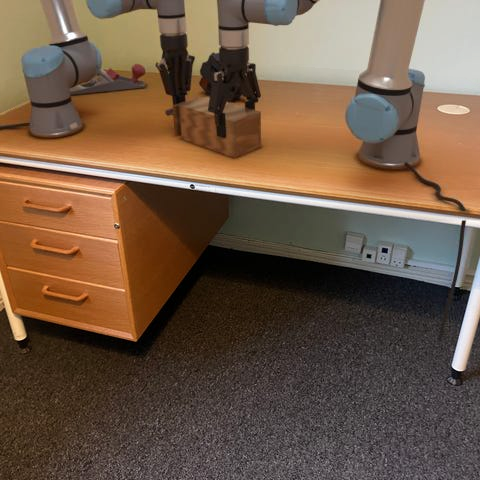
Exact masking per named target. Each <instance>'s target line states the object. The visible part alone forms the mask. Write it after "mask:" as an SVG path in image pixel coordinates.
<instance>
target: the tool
mask: <svg viewBox="0 0 480 480" xmlns="http://www.w3.org/2000/svg"><path fill="white" fill-rule="evenodd" d="M221 69H222V64H221V63H220V61H219V52H217V53H216V52H211V53H210V55H209V56H208V58H207V60H206V61H204V62H202V63H201V67H200V68H199V74H200V76H201V78H200V80H199V82H198V85H199V86H200V88H201V89H202V90H203V92H204V93H205V94H206V95H210V94H211V88H212V82H213V80H212V73H213V72H220V71H221ZM226 84H227V83H226ZM241 97H244V98H246V96H245V94H244V92H243V90H242V88H241V86H240V85H239V83H237V84H236V85H234V86H233V88H232V89H231V90H230V93H229V96H228V99H227V102H230V101H234V100H236V99H239V98H241Z"/></svg>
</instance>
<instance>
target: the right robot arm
mask: <svg viewBox="0 0 480 480" xmlns="http://www.w3.org/2000/svg"><path fill="white" fill-rule="evenodd" d="M425 1H426V0H380V1H379V6H378V11H377V17H376V22H375V27H374V31H373V37H372V43H371V47H370V52H369V58H368V62H367V68H366V69H365V70H364V71H362V72H361V73H359V75H358V78H357V83H356V89H355V93H354V97H353V98H351V100H350V101H349V103H348V105H347V107H346V109H345V116H344V118H345V123H346V126H347V128H348V130H349V131H350V132H351V134H352V135H353V136H354V138H356V139H357V140H359V141H361V142H362V143H361V145H360V147H359V151H358V159H359V160H360V162H362V163H363V164H364V165H367V166H369V167H372V168H374V169H378V170H385V171H403V170H409V171H411V172H412V174H414V176H415V177H416V178H417V179H418V180H419V181H420V182H422V183H424V184H426V185H429V186H432V187H434V188H435V189H436V192H435V195H436V197H437V198H438V199H439V200H442V201H444V202H451V203H453V204H456V205H457V206H458V207H459V210H460V211H462V212H466V211H467V210H466V208H465V206H464V204H463V202H461V201H460V200H458V199H457V198H454V197H448V196H444V195H442V194H441V191H442V189H441V186H440V185H439V184H438V183H436V182H433V181H431V180H428V179H426V178H424V177H423V176H421V174H420V173H419V172H418V171H417V170H416V169H415V168H414V167H416V166H418V164H419V163H420V158H421V153H420V151H421V150H420V146H419V140H418V135H417V130H418V124H419V119H420V111H421V108H422V107H421V105H422V99H423V96H424V95H423V93H424V88H425V86H426V84H425V82H426V81H425V79H426V76H425V74H424V72H423V71H421V70H417V69H414V68H410V65H411V60H412V56H413V52H414V47H415V43H416V39H417V34H418V31H419V27H420V23H421V18H422V14H423V9H424V5H425ZM318 2H320V0H216V6H217V22H218V23H217V24H218V25H217V26H218V30H217V31H218V45H219V46H220V47H219V48H218V53H219V61H220V63H221V64H222V69H221V71H220V72H213V73H212V80H213V82H212V88H211V93H210V94H209V98H210V100H209V105H208V111H209V112H212V113H214V115H215V125H216V129H217V136H219V137H222V138H226V122H225V113H223V110H224V107H225V104H226V102H228V100H227V99H228V96H229V93H230V90H231V89H232V88H233V86H234V85H236V84H237V83H239V85H240V86H241V88H242V90H243V92H244V94H245V96H246V97H245V98H246V101H244V107H246V108H249V109H253V110H256V103H257V104H258V103H259V99H261V98H262V97H261V96H262V95H261V90H260V86H259V85H260V84H259V80H258V77H257V73H256V69H257V68H256V67H257V66H256V63H254V62H249V61H250V48H249V45H250V27H249V24H250V23H252V24H253V23H254V24H261V25H271V26H273V27H278V26H289V25H291V24H292V23H293V21H294V20H295V18H296V17H297V16H302V15H305V14H306V13H307V12H309V11H310V10H311V9H312V8H313V7H314V5H316V4H317V3H318ZM226 83H227V84H226ZM218 108H219V109H218ZM466 224H467V220H465V219H464V220H461V224H460V230H459V240H458V250H457V256H456V263H455V268H454V272H453V277H452V281H451V285H450V289H449V293H448V298H447V302H446V305H445V309H444V313H443V316H442V321H441V324H440V328H439V333H438V337H437V341H438V342H442V340H443V336H444V331H445V327H446V322H447V320H448V319H447V318H448V315H449V311H450V308H451V304H452V300H453V298H454V293H455V289H456V285H457V281H458V276H459V272H460V267H461V262H462V256H463V249H464V240H465V230H466Z"/></svg>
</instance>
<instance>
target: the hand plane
mask: <svg viewBox="0 0 480 480" xmlns="http://www.w3.org/2000/svg"><path fill="white" fill-rule="evenodd" d="M131 73H132V76H131V78H130V77H126V76H123V75H120V74H119V73H117V72H116V71H114V70H113V69H112V68H111V67H109V68H108V70H107V71H105V70H104V69H103V68H102V67H101V69H100V71H99V73H98V75H97V76H96V77H97V78H96V77H95V78H93V79H91V80H90V81H88V82H85V83H82V84H79V85H77V86H75V87H73V88H70V94H71V96H74V95H84V94H94V93H104V92H112V91H113V92H114V91H121V90H132V89H142V88H146V83H145V81H143V80H139V78H142V77H144V76H145V75H146V68H145V66H143V65H141V64H139V63H134V64H133V65H132V66H131Z"/></svg>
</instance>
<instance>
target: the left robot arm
mask: <svg viewBox="0 0 480 480" xmlns="http://www.w3.org/2000/svg"><path fill="white" fill-rule="evenodd" d="M39 2H40V5H41V8H42V11H43V14H44V17H45V20H46V23H47V26H48V29H49V32H50V35H51V36H50V39H49V41H48V45H42V46H40V47H39V46H38V47H34V48H31V49H29V50H27V51H25V52H24V54H22V56H21V59H20V60H21V61H20V62H21V67H22V69H21V70H22V74H23V78H24V81H25V86H26V89H27V93H28V97H29V102H30V106H31V110H30V120H29V122H21V123H15V124H6V125H0V130H4V129H13V128H21V127H29V130H30V134H31V135H32V136H34V137H36V138H40V139H59V138H64V137H69V136H71V135H74V134H75V135H76V134H77V133H79V132H80V131H81V130H83V128H84V125H83V120H82V118H81V117H80V115H79V112H78V111H77V109H76V107H75V105H74V103H73V99H72V95H71V94H70V88H73V87H75V86H77V85H81V84H85V83H89V82H91V81H90V80H92V79H93V80H94V79H95V78H96V77H98V76H97V75H98V73H99V71H100V69H101V68H102V66H103V65H102V64H103V60H102V59H103V58H102V55H101V51H100V50H99V48H98V46H96V45H95V43H94V42H92V41H90V40H89V37H88V33H86V32H84V31H83V30H81V28H80V24H79V22H78V18H77V15H76V11H75V8H74V5H73V2H72V0H39ZM85 3H86V6H87V9H88V10H89V12H90V14H91V15H92V16H93V17H95V18H97V19H100V20H106V19H113V18H116V17H118V16H120V15H124V14H128V13H132V12H135V11H139V10H156V14H157V23H158V24H157V25H158V32H159V33H160V35H159V43H160V48H161V51H162V54H161V59H160V61H159V62H155V67H156V69H157V70H158V72H159V75H160V79H161V82H162V85H163V88H164V93H165V94H166V95H167V96H171V99H172V100H171V101H172V106H173V105H175V104H179V103H182V102H185V101H187V100H186V96H188V92H190V91H191V87H192V78H193V67H194V63H195V60H196V57H195V55H191V54H190V53H189V50H188V46H189V43H188V42H189V41H188V33H186V32H187V31H188V30H187V17H186V16H187V15H186V8H185V7H186V6H185V0H85Z"/></svg>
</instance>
